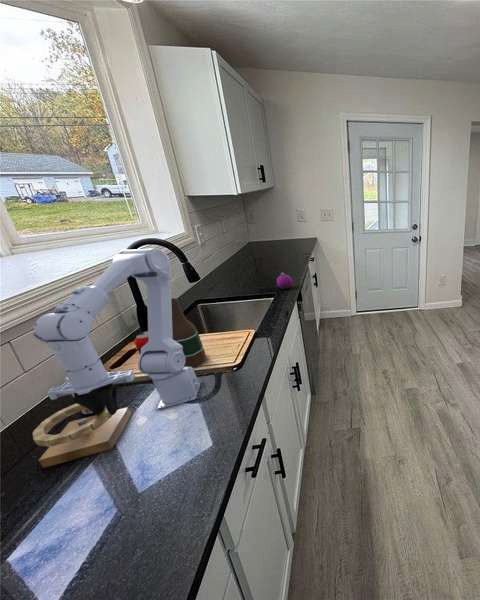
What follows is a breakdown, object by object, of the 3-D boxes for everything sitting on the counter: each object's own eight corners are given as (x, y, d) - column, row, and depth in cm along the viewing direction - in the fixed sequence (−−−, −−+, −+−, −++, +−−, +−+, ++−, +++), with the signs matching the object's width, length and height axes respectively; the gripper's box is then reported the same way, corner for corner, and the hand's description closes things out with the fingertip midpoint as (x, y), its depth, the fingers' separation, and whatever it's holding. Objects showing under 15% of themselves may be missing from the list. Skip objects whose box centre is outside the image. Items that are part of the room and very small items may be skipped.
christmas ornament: (291, 285, 182) (287, 268, 178) (295, 288, 175) (291, 271, 171) (276, 288, 178) (272, 271, 174) (280, 292, 171) (276, 275, 167)
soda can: (158, 357, 115) (146, 328, 111) (177, 358, 114) (165, 329, 109) (140, 369, 108) (126, 339, 104) (159, 370, 107) (146, 340, 103)
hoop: (125, 396, 79) (122, 391, 78) (100, 433, 67) (97, 427, 67) (58, 412, 75) (55, 407, 74) (20, 455, 63) (16, 449, 63)
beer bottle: (198, 368, 107) (174, 304, 98) (176, 369, 107) (150, 305, 98) (211, 355, 114) (190, 294, 105) (190, 356, 114) (168, 296, 105)
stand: (132, 413, 88) (123, 396, 85) (112, 448, 76) (101, 430, 74) (73, 429, 83) (62, 411, 81) (43, 468, 72) (30, 449, 70)
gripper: (25, 384, 62) (59, 435, 67) (115, 365, 66) (139, 414, 71) (48, 365, 68) (76, 414, 73) (128, 349, 72) (150, 396, 78)
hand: (108, 413), depth 73 cm, fingers closed on hoop, 1 cm apart
